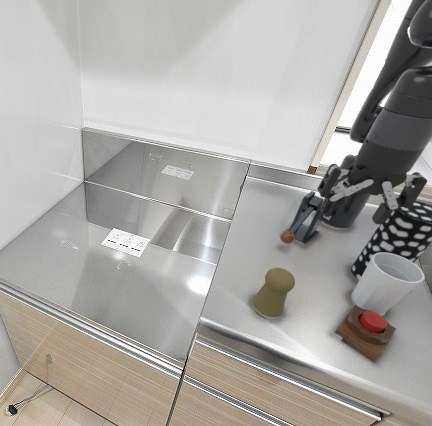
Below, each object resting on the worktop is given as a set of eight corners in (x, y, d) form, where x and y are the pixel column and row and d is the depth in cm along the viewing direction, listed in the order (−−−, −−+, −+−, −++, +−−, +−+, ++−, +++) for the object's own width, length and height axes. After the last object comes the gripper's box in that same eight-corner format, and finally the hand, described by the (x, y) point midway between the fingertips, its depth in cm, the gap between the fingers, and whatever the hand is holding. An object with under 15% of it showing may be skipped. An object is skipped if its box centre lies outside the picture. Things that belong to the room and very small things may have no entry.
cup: (374, 326, 60) (408, 288, 53) (336, 297, 66) (362, 259, 59) (398, 312, 62) (434, 274, 55) (359, 285, 68) (387, 247, 61)
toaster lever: (289, 248, 75) (290, 242, 72) (277, 241, 77) (277, 236, 74) (324, 205, 76) (326, 198, 74) (311, 200, 79) (312, 193, 76)
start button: (363, 313, 58) (367, 307, 57) (385, 325, 56) (390, 320, 55) (356, 323, 57) (360, 317, 56) (378, 336, 54) (383, 331, 53)
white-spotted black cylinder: (353, 286, 68) (402, 218, 56) (345, 262, 74) (388, 196, 62) (397, 297, 65) (458, 228, 53) (385, 270, 72) (437, 203, 60)
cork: (284, 322, 61) (304, 288, 54) (253, 317, 62) (269, 283, 55) (277, 298, 66) (294, 265, 59) (249, 294, 67) (262, 261, 60)
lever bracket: (304, 247, 79) (323, 208, 71) (282, 235, 83) (298, 198, 75) (317, 234, 83) (337, 197, 75) (296, 224, 87) (313, 187, 79)
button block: (350, 310, 63) (359, 299, 60) (390, 334, 58) (401, 323, 56) (332, 334, 59) (341, 323, 56) (373, 362, 54) (385, 351, 52)
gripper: (437, 135, 49) (384, 213, 58) (339, 127, 52) (305, 202, 62) (465, 153, 43) (402, 237, 53) (353, 143, 46) (313, 223, 56)
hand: (349, 218), depth 57 cm, fingers open, 8 cm apart
